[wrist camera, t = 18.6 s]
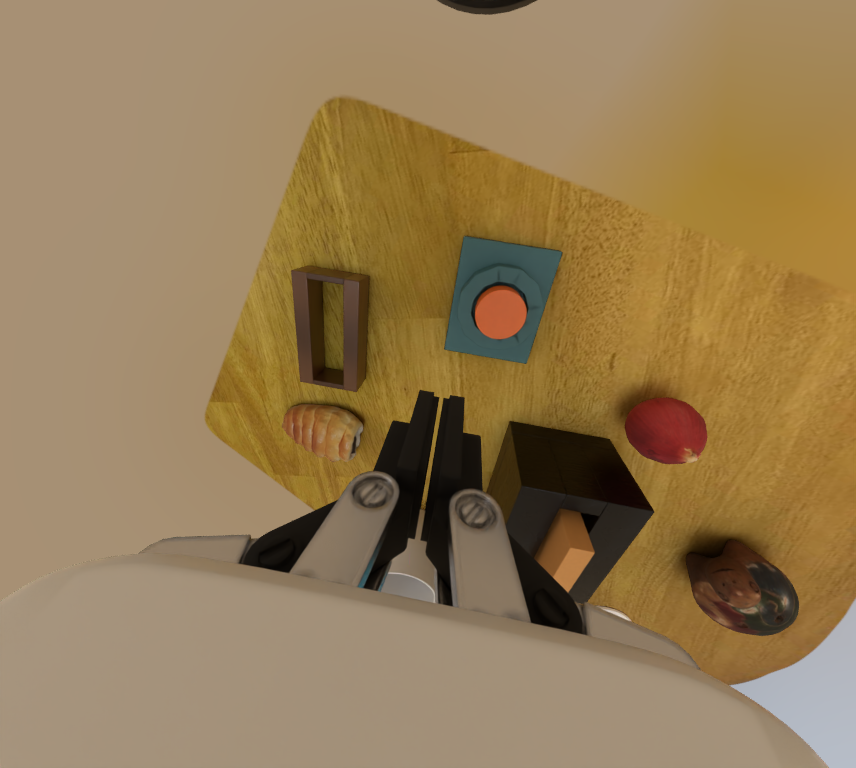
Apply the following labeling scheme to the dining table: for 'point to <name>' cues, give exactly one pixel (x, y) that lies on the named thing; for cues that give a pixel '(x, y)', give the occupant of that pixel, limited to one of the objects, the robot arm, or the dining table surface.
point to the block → (497, 267)
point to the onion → (666, 431)
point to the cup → (412, 570)
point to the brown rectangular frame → (312, 327)
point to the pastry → (324, 430)
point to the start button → (500, 312)
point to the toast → (565, 548)
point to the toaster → (568, 494)
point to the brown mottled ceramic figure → (743, 590)
